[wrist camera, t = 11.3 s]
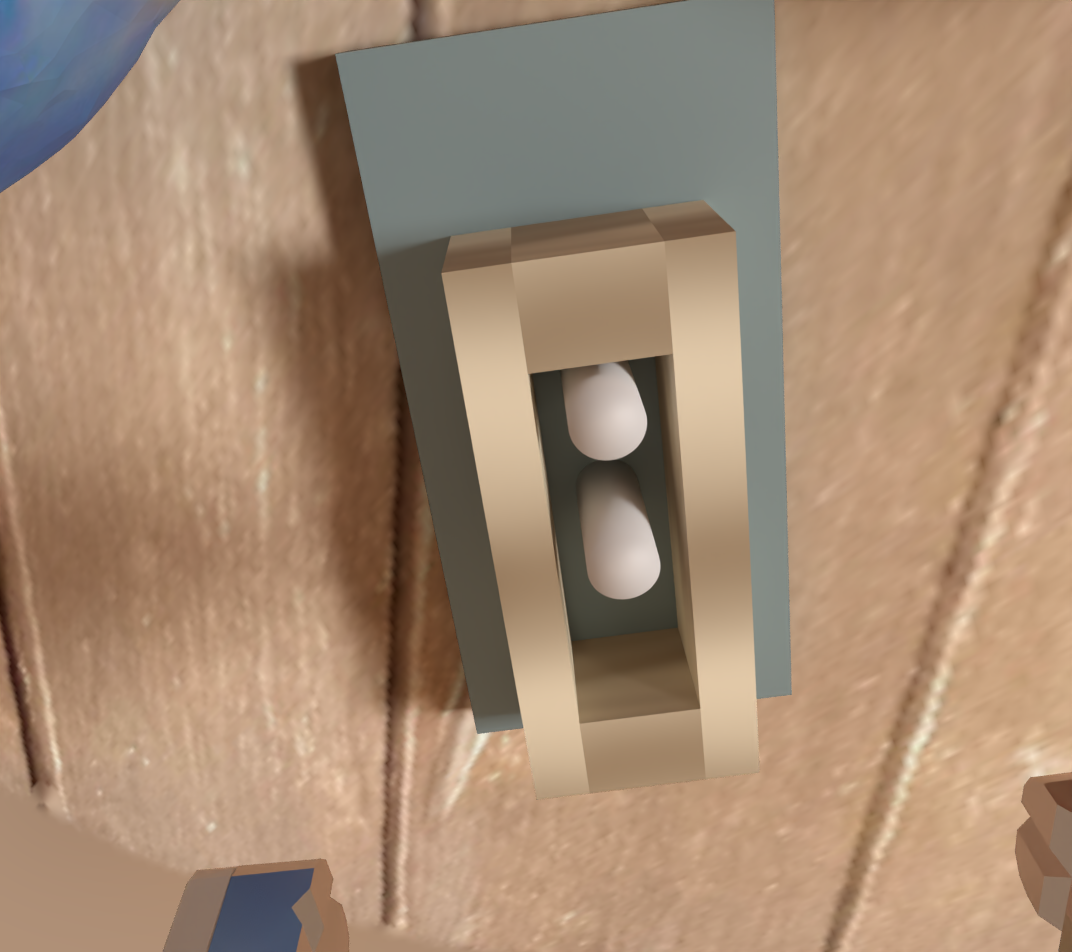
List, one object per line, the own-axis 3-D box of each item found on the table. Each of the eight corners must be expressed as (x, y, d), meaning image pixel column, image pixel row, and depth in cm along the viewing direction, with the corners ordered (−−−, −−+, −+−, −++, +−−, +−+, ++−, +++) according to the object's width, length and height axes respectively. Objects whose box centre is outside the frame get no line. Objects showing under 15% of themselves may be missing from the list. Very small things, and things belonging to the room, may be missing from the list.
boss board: (343, 52, 18) (297, 62, 14) (760, -11, 18) (833, -18, 14) (478, 708, 25) (472, 840, 21) (781, 670, 25) (834, 796, 21)
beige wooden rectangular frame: (451, 235, 19) (441, 272, 16) (703, 199, 19) (735, 231, 16) (533, 711, 24) (536, 800, 21) (731, 687, 24) (759, 772, 21)
